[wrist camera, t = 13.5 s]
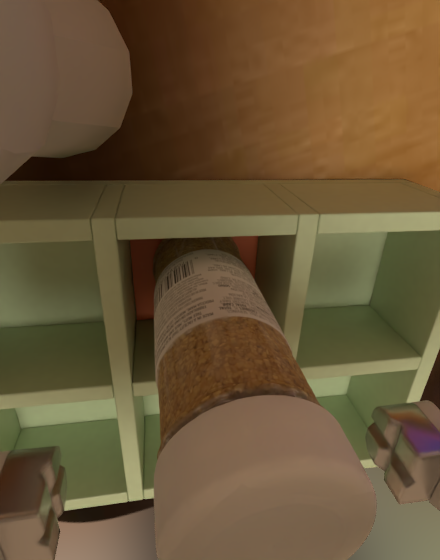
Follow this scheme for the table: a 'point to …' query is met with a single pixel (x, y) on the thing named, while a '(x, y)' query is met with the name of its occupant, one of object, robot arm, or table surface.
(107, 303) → the rack
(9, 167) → the salt shaker
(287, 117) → the table surface
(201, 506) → the sprinkles bottle
